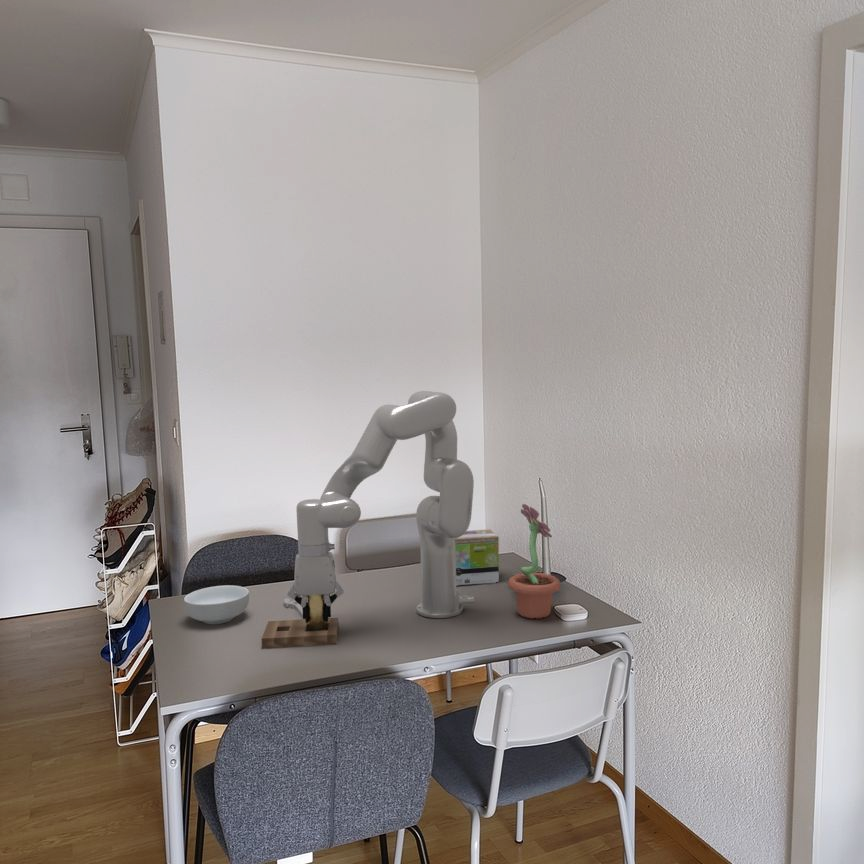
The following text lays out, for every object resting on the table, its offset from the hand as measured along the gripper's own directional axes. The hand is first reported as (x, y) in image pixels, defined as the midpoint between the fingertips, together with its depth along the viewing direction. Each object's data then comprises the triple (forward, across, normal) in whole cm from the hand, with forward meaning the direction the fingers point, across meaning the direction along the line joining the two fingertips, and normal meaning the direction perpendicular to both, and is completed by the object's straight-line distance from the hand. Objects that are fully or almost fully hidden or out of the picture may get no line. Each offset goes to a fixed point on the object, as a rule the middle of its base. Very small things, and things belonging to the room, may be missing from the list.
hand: (317, 619), depth 195 cm
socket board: (+4, +4, 0) cm, 6 cm away
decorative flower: (+5, -57, -7) cm, 58 cm away
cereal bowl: (+5, +28, -17) cm, 33 cm away
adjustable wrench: (+5, +6, -18) cm, 20 cm away
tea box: (+5, -44, -40) cm, 60 cm away
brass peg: (+3, 0, 0) cm, 3 cm away
